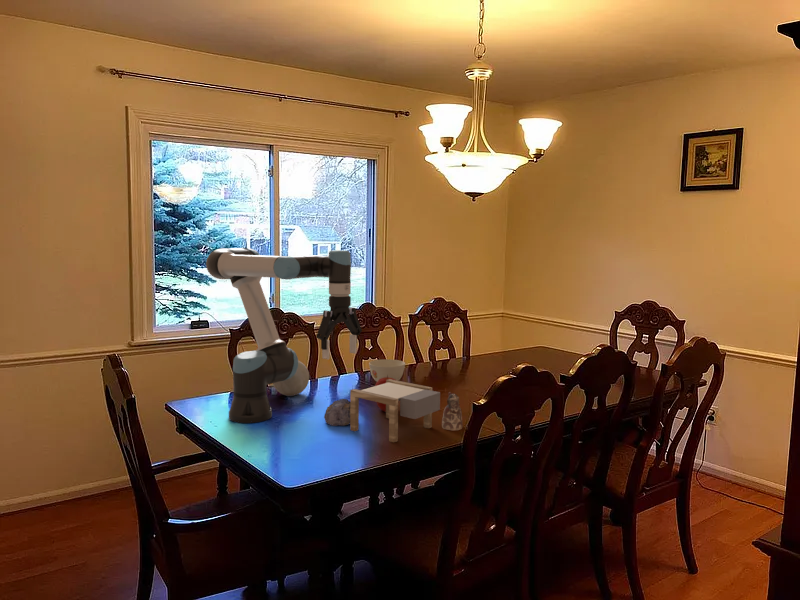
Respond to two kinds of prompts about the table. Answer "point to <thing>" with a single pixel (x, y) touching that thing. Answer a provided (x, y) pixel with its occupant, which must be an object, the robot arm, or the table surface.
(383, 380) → the apple
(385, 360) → the bowl
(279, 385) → the decorative sphere
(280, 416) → the table surface
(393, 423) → the frame
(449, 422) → the figurine
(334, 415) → the rock
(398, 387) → the trapdoor
